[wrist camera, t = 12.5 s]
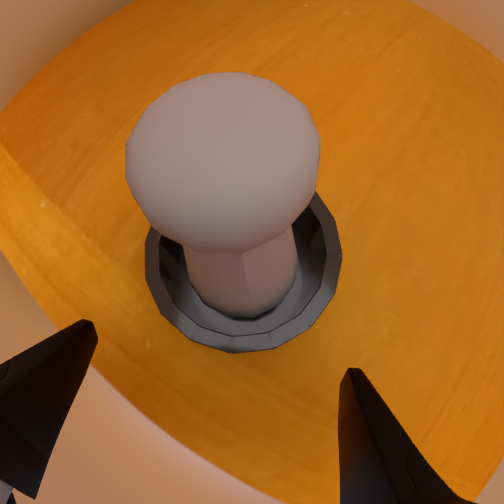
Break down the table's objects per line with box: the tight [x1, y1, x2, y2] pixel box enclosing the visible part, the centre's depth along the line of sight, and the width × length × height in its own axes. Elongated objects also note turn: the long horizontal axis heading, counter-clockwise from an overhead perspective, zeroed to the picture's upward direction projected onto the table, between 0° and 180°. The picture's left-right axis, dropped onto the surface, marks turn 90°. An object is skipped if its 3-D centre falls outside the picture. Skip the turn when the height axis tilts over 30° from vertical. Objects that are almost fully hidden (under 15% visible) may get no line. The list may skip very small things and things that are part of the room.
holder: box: [145, 191, 343, 354], centre depth 16 cm, size 10×10×4 cm
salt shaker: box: [125, 72, 320, 318], centre depth 11 cm, size 6×6×13 cm
